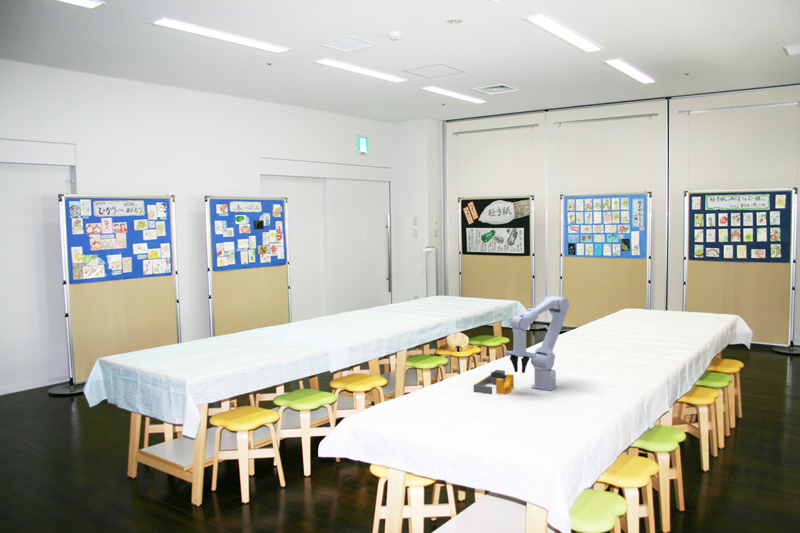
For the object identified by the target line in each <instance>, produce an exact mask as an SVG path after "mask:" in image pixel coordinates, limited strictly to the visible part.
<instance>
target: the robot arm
mask: <svg viewBox="0 0 800 533" xmlns="http://www.w3.org/2000/svg"><path fill="white" fill-rule="evenodd" d="M569 307H570V301H569V300H568V298H567V297H566V296H556V295H551V294H550V295H548V296H546V297H544V299H543V301H541V303H539V304H538V305H536V306H535V307H534V308H529V307H528V308H527V309H526V310H525V311H524V312H523V313H520V315H519V316H517V315H515V316H514V317H512V319H511V322H510V327H511V330H512V333H513V343H512V344H513V349H512V350H504V351H503V356H510V357H509V360H510V362H511V364H512V366H513V369H514V372H515V373H517V372H518V371H519V369H518V365H519V357H520V360H521V373H522V374H525V373H526V369H527V365H528V362H529V360H530V364H531V365H532V366H533V368H534V384H533V385H532V386H531V389H539V390H544V391H553V390H554V389H555V388H556V387H557V385H556V384H557V382H556V381H557V379H556V376H557V373H556V370H554V369H552V368H553V367H554V364H555V359H556V355H555V353H554V347H555V345H556V342H557V340H558V338H559V335H560V332H561V329H562V327H563V324H564V322H565V321H566V320H565V319H566V315H567V312H568V310H569ZM546 311H548V312H549V313H550V314H551V315H552V316H551V317H552V319H551V321H550V323H549V326H548V329H547V331H546V334H545V337H544V339H543V341H542V344H541V346H540V347H538V348H536V349H535V351H534V353H533V352H529V351H527V330H528V329H529V327H530V325H531V324H533V322H535V321H537V319H539V316H540V315H541V314H543V313H544V312H546Z"/></svg>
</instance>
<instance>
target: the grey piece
mask: <svg viewBox="0 0 800 533" xmlns="http://www.w3.org/2000/svg"><path fill="white" fill-rule="evenodd" d="M506 377H507V374H506V370H501V369H495V370H494V371H491V372H490V375H488V376H485V377H484V378H482V379H480V380H479V381H477V382H475V383H474V384H473V392H475V393H483V394H488V395H489V394H490V395H492V394H493V387H492V386H487V385H488V384H489V385H490V384H491V385H496V379H498V378H499V379H503V382H504V383H505V381H506Z"/></svg>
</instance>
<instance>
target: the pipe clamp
mask: <svg viewBox="0 0 800 533" xmlns="http://www.w3.org/2000/svg"><path fill="white" fill-rule="evenodd" d="M506 375H507V377H506V381H505V383H504V382H503V379H499V378H498V379H496V384H495V385H496V386H495V387H496V388H495V389H496V390H495V392H496V394H500V395H506V394H508V393H510V392H512V389H514V381H515V380H514V374H512V373H507V374H506Z"/></svg>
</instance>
